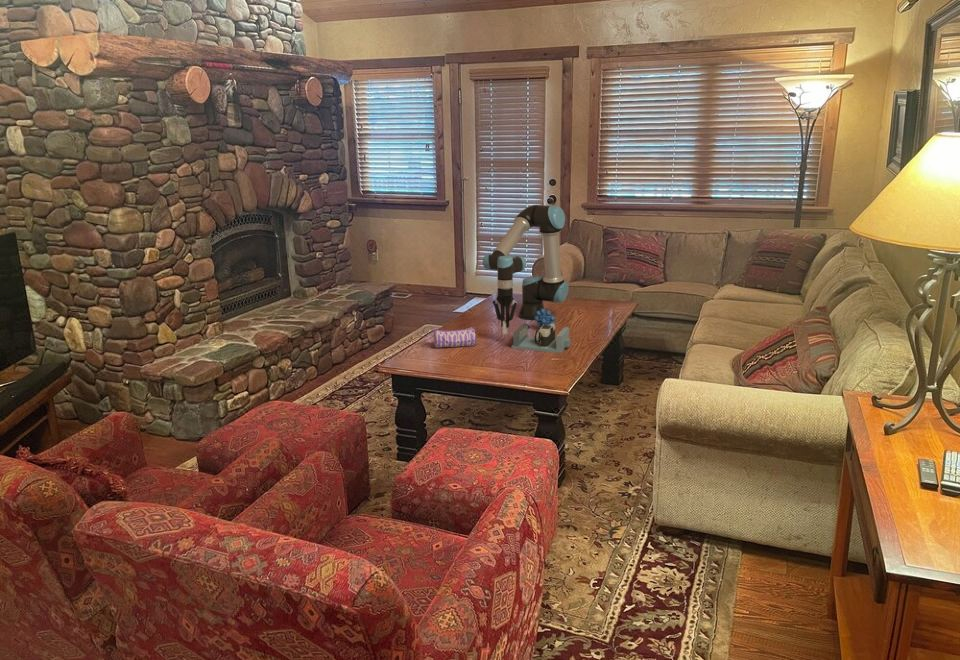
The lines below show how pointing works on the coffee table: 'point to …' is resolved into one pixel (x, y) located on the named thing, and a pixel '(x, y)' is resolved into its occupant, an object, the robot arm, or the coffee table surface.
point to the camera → (545, 335)
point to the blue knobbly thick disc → (544, 318)
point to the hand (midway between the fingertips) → (505, 333)
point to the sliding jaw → (521, 334)
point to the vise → (556, 346)
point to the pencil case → (455, 338)
